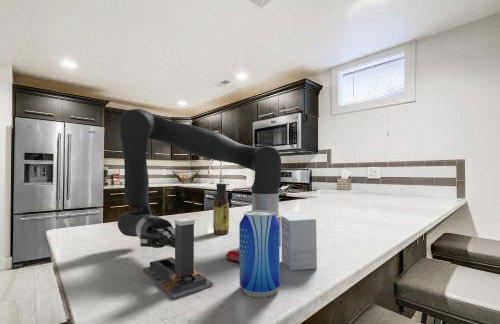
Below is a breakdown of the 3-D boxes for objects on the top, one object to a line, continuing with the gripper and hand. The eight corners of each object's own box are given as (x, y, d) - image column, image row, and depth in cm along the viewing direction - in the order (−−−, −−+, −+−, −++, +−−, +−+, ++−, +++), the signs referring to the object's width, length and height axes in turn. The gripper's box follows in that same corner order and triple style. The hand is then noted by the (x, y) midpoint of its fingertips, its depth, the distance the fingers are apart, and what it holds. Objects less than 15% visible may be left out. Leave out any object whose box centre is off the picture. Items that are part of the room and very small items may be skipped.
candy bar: (281, 268, 66) (281, 256, 66) (274, 273, 63) (274, 261, 63) (231, 257, 75) (231, 247, 75) (223, 261, 72) (223, 250, 72)
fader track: (143, 271, 64) (143, 262, 64) (177, 263, 70) (177, 255, 70) (172, 299, 50) (173, 288, 50) (212, 285, 56) (212, 275, 56)
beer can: (238, 281, 58) (238, 210, 58) (275, 280, 58) (275, 209, 59) (240, 300, 49) (240, 216, 50) (283, 298, 50) (283, 215, 51)
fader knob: (173, 278, 57) (173, 219, 57) (186, 274, 59) (187, 217, 59) (181, 284, 54) (181, 222, 54) (195, 280, 56) (195, 220, 56)
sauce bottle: (226, 235, 99) (226, 183, 100) (210, 234, 101) (211, 183, 101) (230, 231, 106) (230, 183, 107) (216, 230, 107) (216, 183, 108)
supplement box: (306, 259, 72) (305, 214, 73) (317, 269, 65) (317, 218, 65) (280, 261, 71) (280, 215, 71) (289, 271, 64) (289, 219, 64)
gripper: (176, 240, 75) (206, 255, 62) (128, 249, 67) (150, 268, 53) (176, 214, 75) (207, 223, 62) (128, 219, 67) (151, 231, 54)
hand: (181, 244), depth 58 cm, fingers closed
